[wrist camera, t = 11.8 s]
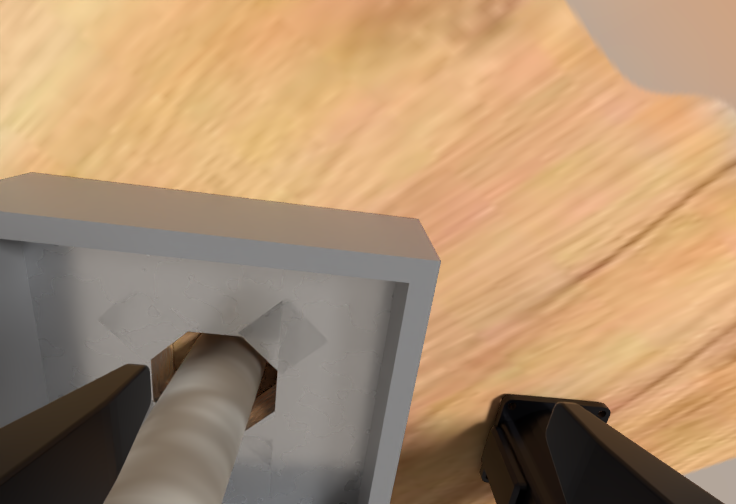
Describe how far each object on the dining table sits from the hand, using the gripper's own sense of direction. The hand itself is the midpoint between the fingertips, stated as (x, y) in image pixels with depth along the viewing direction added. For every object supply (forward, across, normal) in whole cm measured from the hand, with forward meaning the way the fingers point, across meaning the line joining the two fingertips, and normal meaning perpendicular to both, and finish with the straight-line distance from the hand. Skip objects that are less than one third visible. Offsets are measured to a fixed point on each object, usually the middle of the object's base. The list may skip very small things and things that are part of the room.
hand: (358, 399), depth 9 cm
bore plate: (+12, +6, +8) cm, 16 cm away
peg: (+12, +6, +8) cm, 16 cm away
